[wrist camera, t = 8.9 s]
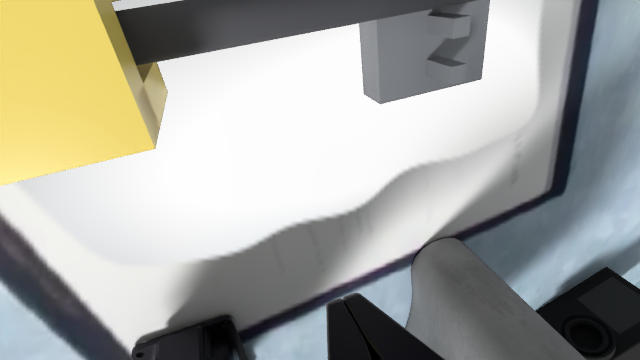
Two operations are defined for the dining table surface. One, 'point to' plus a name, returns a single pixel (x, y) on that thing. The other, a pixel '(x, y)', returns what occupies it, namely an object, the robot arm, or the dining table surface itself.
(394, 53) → the grey pronged block
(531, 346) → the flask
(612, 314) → the digital camera
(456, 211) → the dining table surface
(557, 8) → the dining table surface
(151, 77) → the sleeve
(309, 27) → the dark grey rod
